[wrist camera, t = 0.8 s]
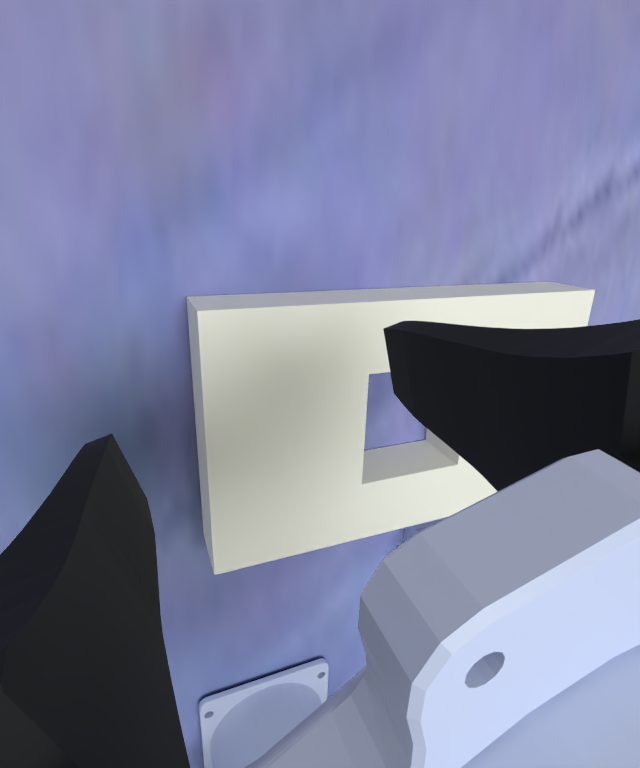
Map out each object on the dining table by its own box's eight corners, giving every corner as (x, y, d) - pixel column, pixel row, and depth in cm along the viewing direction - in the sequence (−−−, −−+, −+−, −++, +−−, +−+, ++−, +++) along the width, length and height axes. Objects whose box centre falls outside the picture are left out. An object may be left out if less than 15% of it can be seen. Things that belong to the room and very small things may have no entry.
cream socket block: (513, 466, 31) (550, 491, 29) (203, 534, 24) (214, 575, 21) (548, 281, 27) (594, 290, 24) (186, 296, 20) (197, 310, 17)
